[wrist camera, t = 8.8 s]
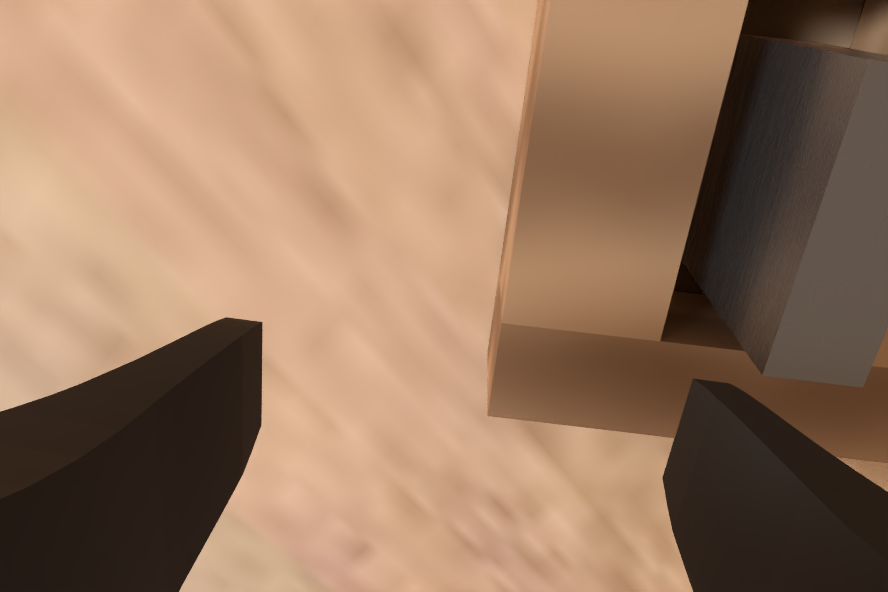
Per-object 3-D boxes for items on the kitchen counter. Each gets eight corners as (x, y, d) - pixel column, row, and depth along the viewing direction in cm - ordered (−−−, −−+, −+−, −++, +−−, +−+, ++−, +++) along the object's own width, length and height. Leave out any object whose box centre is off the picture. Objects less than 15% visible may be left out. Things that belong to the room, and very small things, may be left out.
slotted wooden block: (869, 397, 22) (935, 468, 18) (487, 352, 22) (487, 415, 19) (1085, -120, 16) (1235, -146, 13) (563, -176, 16) (582, -216, 13)
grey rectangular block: (744, 260, 20) (863, 387, 14) (675, 251, 20) (762, 375, 14) (810, 41, 18) (993, 73, 11) (732, 32, 18) (869, 59, 11)
